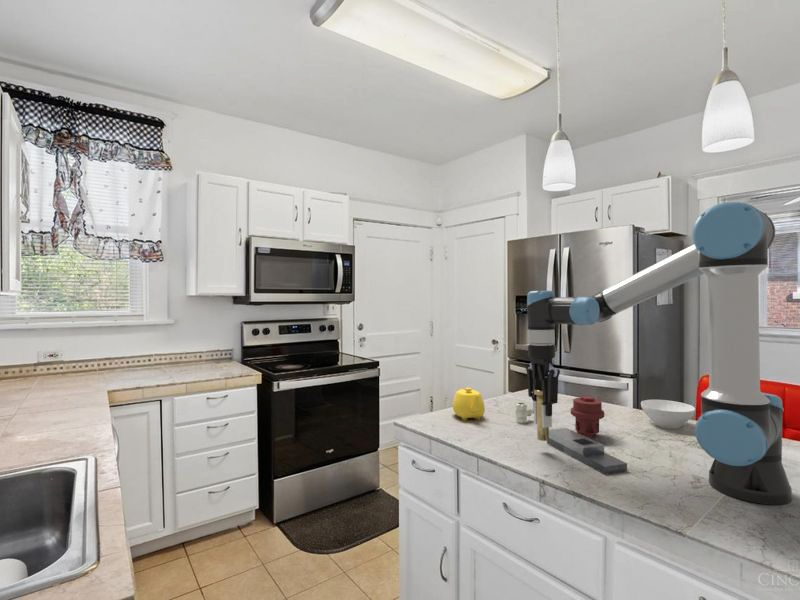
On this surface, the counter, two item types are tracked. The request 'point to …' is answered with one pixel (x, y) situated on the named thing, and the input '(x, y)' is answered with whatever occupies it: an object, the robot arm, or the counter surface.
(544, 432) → the brass knob
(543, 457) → the counter surface
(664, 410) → the bowl
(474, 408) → the teapot
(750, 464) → the robot arm
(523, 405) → the valve
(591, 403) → the mechanical component
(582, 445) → the plate with square socket
